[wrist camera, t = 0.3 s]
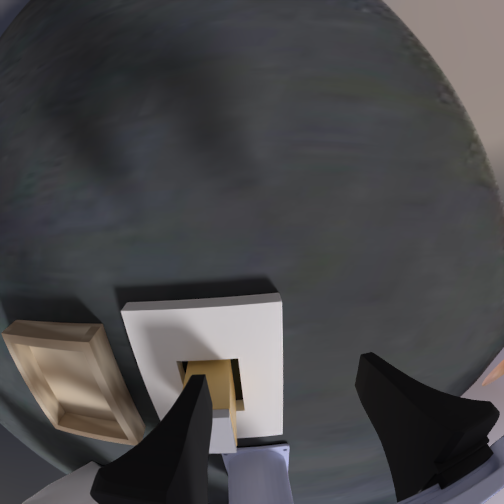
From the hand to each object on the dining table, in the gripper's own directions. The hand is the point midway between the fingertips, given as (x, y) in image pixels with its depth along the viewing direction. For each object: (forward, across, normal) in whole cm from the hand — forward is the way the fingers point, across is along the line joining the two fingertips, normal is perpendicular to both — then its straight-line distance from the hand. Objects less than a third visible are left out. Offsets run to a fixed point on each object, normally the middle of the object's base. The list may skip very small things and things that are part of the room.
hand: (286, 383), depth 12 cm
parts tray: (+10, +20, +9) cm, 24 cm away
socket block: (+10, +5, +8) cm, 13 cm away
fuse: (+10, +5, +8) cm, 13 cm away
